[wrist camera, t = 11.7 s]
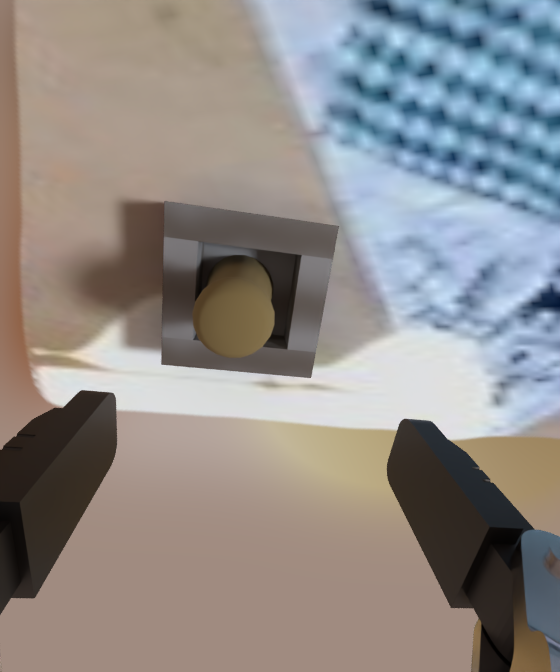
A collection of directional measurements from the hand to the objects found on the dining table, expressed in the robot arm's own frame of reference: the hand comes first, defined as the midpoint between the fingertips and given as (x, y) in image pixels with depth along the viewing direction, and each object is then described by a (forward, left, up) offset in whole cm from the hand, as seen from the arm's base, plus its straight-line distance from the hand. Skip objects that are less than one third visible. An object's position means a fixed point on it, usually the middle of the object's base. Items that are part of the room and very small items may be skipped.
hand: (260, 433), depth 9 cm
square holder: (+1, -1, -22) cm, 22 cm away
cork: (+1, -1, -22) cm, 22 cm away
